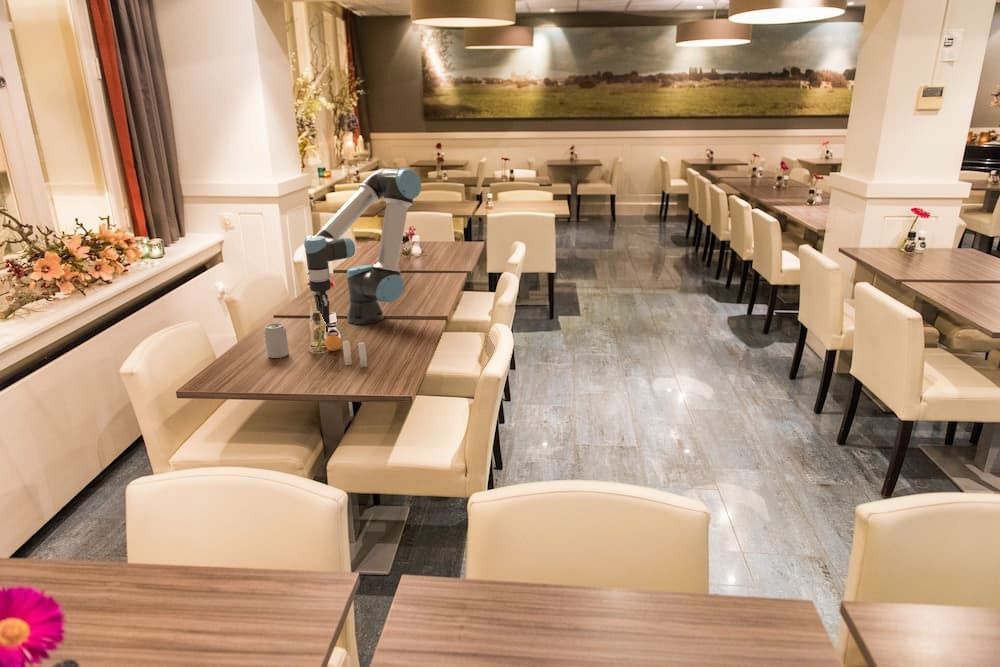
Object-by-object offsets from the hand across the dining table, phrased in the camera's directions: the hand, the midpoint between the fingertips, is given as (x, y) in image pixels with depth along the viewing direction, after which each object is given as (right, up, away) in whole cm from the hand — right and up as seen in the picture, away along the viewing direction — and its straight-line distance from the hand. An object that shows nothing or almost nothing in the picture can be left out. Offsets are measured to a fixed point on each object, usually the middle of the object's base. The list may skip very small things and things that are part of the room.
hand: (325, 339), depth 257 cm
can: (-15, -6, -9) cm, 19 cm away
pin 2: (+19, -9, -21) cm, 30 cm away
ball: (+4, -1, -6) cm, 8 cm away
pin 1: (+13, -9, -19) cm, 25 cm away
